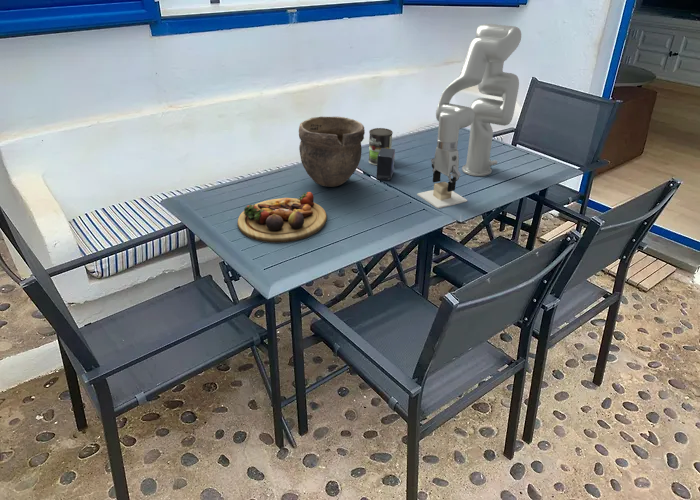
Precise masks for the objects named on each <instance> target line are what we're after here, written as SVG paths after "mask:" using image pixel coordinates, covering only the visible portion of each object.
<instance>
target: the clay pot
mask: <svg viewBox="0 0 700 500" xmlns="http://www.w3.org/2000/svg"><path fill="white" fill-rule="evenodd" d="M365 131H366V130H365V126H364V124H363V123H362V122H360V121H359V120H355V119H353V118H348V117H345V116H317V117H316V116H315V117H311V118H308V119H305V120H303V121H302V122H300V123H299V127H298V136H299V141H300V142H299V147H298V150H299V155H300V156H299V157H300V161H301V164H302V166H303V168H304V170H305V172H306V173H307V175H308V176H309V177H310V179H311V180H312V181H313V182H314V183H316V184H318V185H320V186H322V187H329V188H331V187H332V188H334V187H339V186H341V185H343V184H344V183H346V182H347V181H348V180H349V179H350V178H351V176H352V175H353V174H354V173H355V172H356V170H357V168H358V166H359V165H360V162H361V159H362V148H363V147H362V142H363V141H364V139H365V133H366V132H365Z"/></svg>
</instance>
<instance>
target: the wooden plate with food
mask: <svg viewBox="0 0 700 500" xmlns="http://www.w3.org/2000/svg"><path fill="white" fill-rule="evenodd" d="M314 198H315V197H314V194H313V192H311V191H306V193H305V192H303V193H302V194H301V196H299V197H298V198H292V197H282V198H272V199H267V200H264V201H261V202H257V203H253V204H248V205H246V206H245V207H244V208H243V209H244V210H243V211H242V212H241V213H240V214H239V216H238V219H237V227H238V229H239V231H240V232H241V233H242V234H243V235H244V236H246V237H247V238H250V239H252V240H255V241H259V242H265V243H275V244H276V243H279V244H280V243H291V242H294V241H300V240H302V239H303V240H304V239H307V238H309V237H311V236H312V235H314V234H316V233H318V232H319V231H320V230H322V229H323V228H324V226H325V225H326V222H327V220H328V219H327V218H328V215H327V212H326V210H325V209H324V208H323V207H322V206H321V205H320V204H317V203H316V202H314Z"/></svg>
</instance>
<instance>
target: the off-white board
mask: <svg viewBox="0 0 700 500" xmlns="http://www.w3.org/2000/svg"><path fill="white" fill-rule="evenodd" d="M433 192H434V189H432V190H427V191H426V190H425V191H422V192H418V193H416V195H417V196H418V197H419V198H421V199H423V200H424V201H426V202H427V203H428V204H430V205H431V206H433V207H435V208H436V209H442V208H446V207H451V206H455V205H459V204H463V203H466V202H468V199H466V198H465V197H464V196H461V195H460V194H458V193H457V192H455V191H452V194H451V198H448V199H444V200H439V199H438V198H436V197H435V196H433Z"/></svg>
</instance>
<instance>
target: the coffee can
mask: <svg viewBox="0 0 700 500" xmlns="http://www.w3.org/2000/svg"><path fill="white" fill-rule="evenodd" d="M368 132H369V140H368V141H369V143H368V146H369V147H368V163H369V164H371V165H373V166H377V156H378V154H379V152H380V150H381V148H388V149H393V147H392V145H393V133H394V132H393V131H392V130H391V129H389V128H384V127H376V128H371V129H370V130H369V131H368Z"/></svg>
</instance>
